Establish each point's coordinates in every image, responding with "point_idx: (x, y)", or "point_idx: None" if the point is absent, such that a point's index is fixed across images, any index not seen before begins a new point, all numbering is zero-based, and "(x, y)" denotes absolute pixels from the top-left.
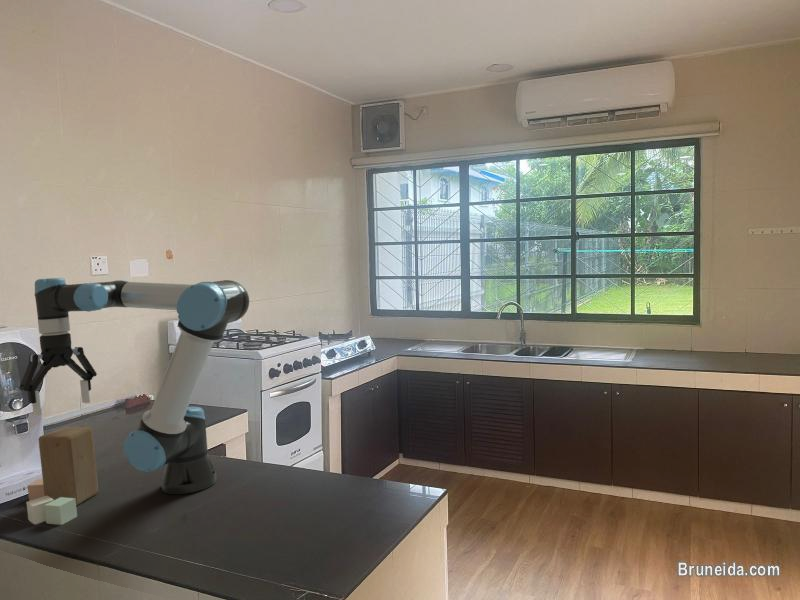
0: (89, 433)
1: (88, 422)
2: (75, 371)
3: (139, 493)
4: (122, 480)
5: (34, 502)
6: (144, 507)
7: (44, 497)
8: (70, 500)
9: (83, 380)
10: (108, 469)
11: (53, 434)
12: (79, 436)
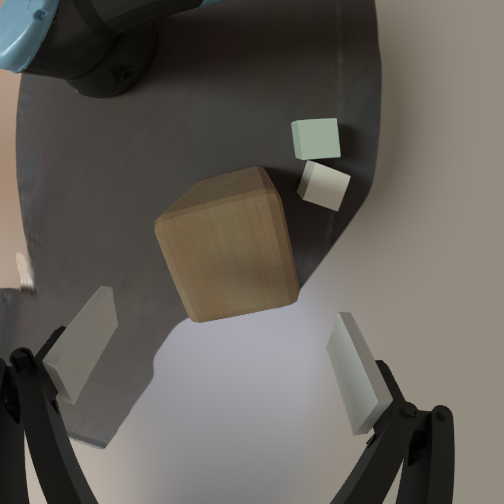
0: (173, 210)
1: (74, 425)
2: (73, 458)
3: (169, 101)
4: (134, 200)
5: (336, 190)
6: (219, 36)
7: (312, 195)
8: (309, 120)
9: (60, 386)
10: (116, 279)
11: (271, 272)
12: (221, 198)
